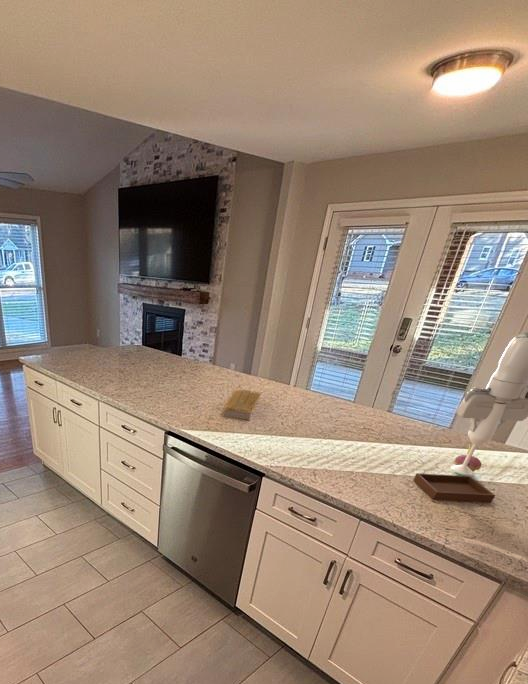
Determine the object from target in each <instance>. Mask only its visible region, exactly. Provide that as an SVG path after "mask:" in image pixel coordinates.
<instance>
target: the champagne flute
mask: <svg viewBox="0 0 528 684" xmlns="http://www.w3.org/2000/svg"><path fill="white" fill-rule="evenodd" d="M493 407H494V408H493V409H492V411H491V413H490V414H489V416H488V417H487V418H486V419H480V420H479V422H477V428H476V430H475V431H474V432H471V431H470V430H468V432H467V436H468V439H469V440H470V442H471V446H472V447H471V449H470V451H469V453H468V452H467V453H468V455H467V454H466V455H467V457H466V459H465V461H464V463H463V465H456V464H455V465H452V466H450V469H451V470H452V471H453V472H454V473H456V472H457V473H460V474H465V475H469V476H472V475H473V474H474V472H473V471H472V470H471V469H469V468H468V467H467V464H468V462H469V460H470V458H471V456H473V454H474V452H475V451H476V449H477V447H478V445H483V444H486V443H488V442H490V441H491V440H492V439H493V438H494V436H495V431H496V429H497V426H498V424H499V422H500V419H501V417H502V414H503V412H504V409H505V407H506V404H498V403H495V404H494V405H493ZM496 432H497V431H496ZM457 473H456V474H457Z"/></svg>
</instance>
